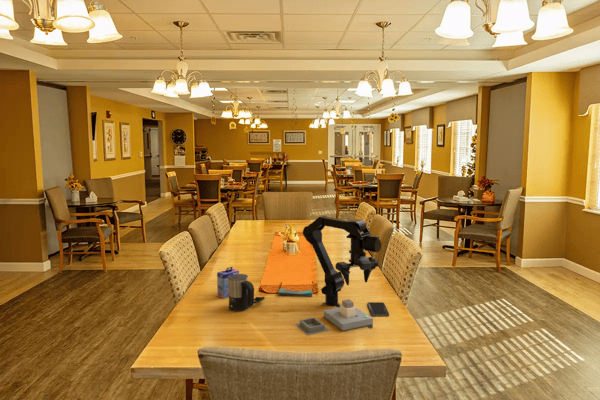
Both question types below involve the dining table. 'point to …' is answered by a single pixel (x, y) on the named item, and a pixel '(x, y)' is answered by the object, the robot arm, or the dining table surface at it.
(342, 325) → the port
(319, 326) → the holster
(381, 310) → the phone
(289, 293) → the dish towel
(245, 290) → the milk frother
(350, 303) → the plug
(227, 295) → the ink cartridge box
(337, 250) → the dining table surface
